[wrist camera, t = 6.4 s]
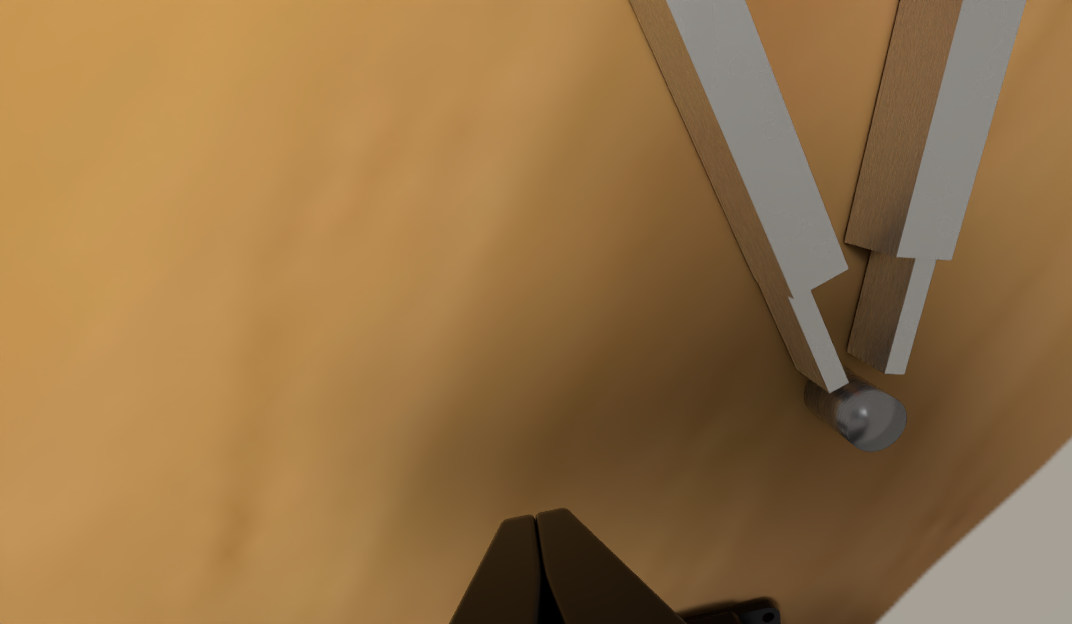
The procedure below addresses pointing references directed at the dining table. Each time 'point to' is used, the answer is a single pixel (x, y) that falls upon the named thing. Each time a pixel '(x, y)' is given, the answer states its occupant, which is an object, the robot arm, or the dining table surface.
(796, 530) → the dining table surface
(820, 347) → the tong leg
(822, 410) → the tong base
